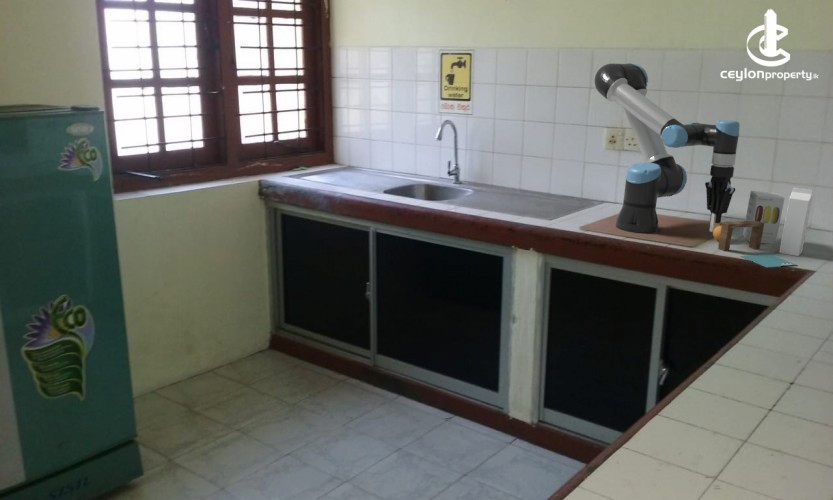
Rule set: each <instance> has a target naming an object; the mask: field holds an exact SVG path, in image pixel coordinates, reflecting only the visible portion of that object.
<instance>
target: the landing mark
mask: <svg viewBox="0 0 833 500" xmlns="http://www.w3.org/2000/svg"><path fill="white" fill-rule="evenodd" d="M740 257H741V258H743V259H745V258H746V259H745V260H748V259H749V260H748V261H750V260H751V261H750V262H752V261H753V263H755V264H757V265H760V266H762V267H765V268H782V267H781V266H783V265H781V264H782V263H784V264H786V263H788V264H790V263H791V264H792V265H797V264H796V263H793V262H791V261H788V260H786V259H784V258H781V257H779V256H776V255H774V254H766V253H765V254H754V255H753V254H751V255H740Z"/></svg>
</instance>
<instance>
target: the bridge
mask: <svg viewBox="0 0 833 500" xmlns="http://www.w3.org/2000/svg"><path fill="white" fill-rule="evenodd" d="M721 222H722V223H721V226H722V228H721V234H720V240H719V242H718V247H717V249H718V250H721V251H723V252H729V251H730V247H731V242H732V235H733V229H735V228H744V227H752V231H751V237H750V242H748V248H751V249H753V250H760V248H761V244H762V243H761V239H762V233H763V228H764V223H763V222H760V221H744V220H743V221H721Z"/></svg>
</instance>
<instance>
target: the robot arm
mask: <svg viewBox="0 0 833 500" xmlns="http://www.w3.org/2000/svg"><path fill="white" fill-rule="evenodd" d="M648 82H649V77H648V73H647V71H646V70H645V68H644V67H642V66H641V65H639V64H635V63H631V62H628V63H614V62H613V63H607V64H605V65H603V66H601V67H600V68H599V69H598V70H597V72H596V73H595V75H594V86H595V88H596V90H597V92H598V93H599V94H600V95H601V96H602V97H603V98H605V99H606V100H607V101H609V102H616V104H618V105H619V106H620V107H621V108H623V110H624V112H625V114H626V116H627V119H628V123H629V125H630V127H631V129H632V132H633V135H634V138H635V140H636V142H637V145H638V147H639V148H638V149H639V150H640V153H641V156H642V158H643V162H638V163H633V164H631V165H629V166H628V168H627V172H626V175H625V185H624V186H625V187H624V194H623V202H622V207H621V209H620V211H619V212H618V213H619V214H618V215H617V218H616V220H615V226H616V228H618V229H620V230H623V231H626V232H627V231H628V232H634V233H645V234H646V233H654V232H657V231H658V230H659V224H660V223H659V219H658V214H657V201H658V199H659V198H664V197H667V198H668V197H673V196H674V195H678V194H679V193H681V192H682V191H683V190H684V189H685V187H686V184H687V181H688V176H687V171H686V169H685V168H684V167H683V166H682V165H680V164H678V163H677V162H676V160H675V158H674V156H673V155H672V154H669V153H668V151H667V150H666V147H668V148H673V149H676V148H677V149H678V148H684V147H693V146H702V147H703V146H704V147H711V148H712V151H713V152H712V157H711V164H712V165H711V166H710V172H709V175H710V176H711V178H710V181H705V183H704V185H705V189H706V191H705V192H706V210H708V211H710V218H709V221H710V223H709V224H710V225H709V231H708V232H711V233H713V231H714V229H715V228H716V227H717V226H720V224H721V222H722V216H723V214H727V213H728V210H729V207H730V204H731V200H732V197H733V194H734V193H735V192H736V188H735V187H732V183H731V179H732V178H733V177H734V173H735V167H734V166H735V164H736V158H737V157H736V156H737V149H738V148H737V147H738V143H739V142H738V141H739V136H740V125H741V124H740V122H739V121H737V120H733V119H731V120H730V119H719V120H717V121H716V124H707V123H701V122H688V123H686V124H683V123H682V122H680V121H679V120H677V119H676V118H675V117H674V116H672V115H671V114H670V113H668V112H667V111H665V110H664V109H663V108H661V107H660V106H659V105H657V104H655V103H654V102H653V101H652V100H650V99H649V98H648V97H646V95H647V93H648V89H647V87H648ZM665 146H666V147H665Z"/></svg>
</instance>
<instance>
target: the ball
mask: <svg viewBox="0 0 833 500" xmlns="http://www.w3.org/2000/svg"><path fill="white" fill-rule="evenodd" d="M721 228H722V225H719V226H717V227H716V228H715V229H714V231H713V232H712V237H713V238H714V239H715V240H716V241H719V240H720V234H721Z"/></svg>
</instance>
